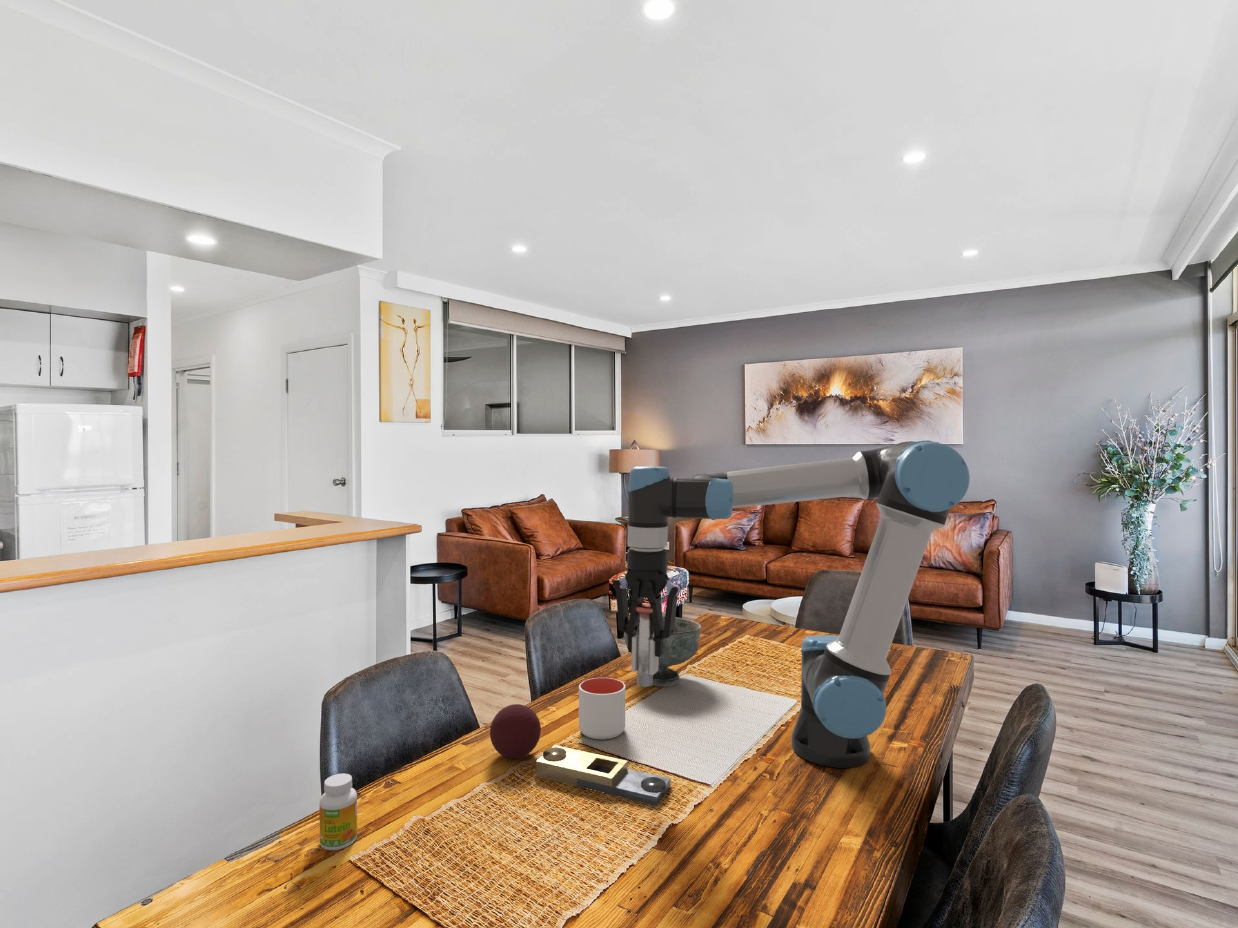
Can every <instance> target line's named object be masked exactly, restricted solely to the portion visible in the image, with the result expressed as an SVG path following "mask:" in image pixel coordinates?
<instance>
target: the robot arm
mask: <svg viewBox="0 0 1238 928" xmlns="http://www.w3.org/2000/svg"><path fill="white" fill-rule="evenodd" d="M670 475H671V474H670V470H669V468H668V467H666V466H654V465H653V466H652V465H644V466H643V465H642V466H641V465H639V466H638V465H637V466H634V467H632V468H631V469H630V471H629V481H628V489H627V493H628V495H627V496H628V498H627V499H628V501H627V502H628V503H627V506H628V507H627V508H628V509H627V513H628V517H627V519H628V520H627V521H628V522H627V524H628V525H627V546H628V547H629V548H628V549H627V554H626V555H627V556H626V557H627V559H626V560H627V565H626V566H627V570H626V573H625V575H624V577H619V578H616V579H614V580H613V581H612V586H613V588H614V591H615V593H616V594H615V595H616V597H615V598H616V610H617V611H616V612H617V613H616V614H617V626H618V628H617V629H618V631H619V632H623V633H626V634H627V635H628V648H627V651H628V653H630V652H632V654H631V672H633V673H634V672H635V673H636V672H637V657H638V634H637V632H638V613H637V612H635V606H639V605H641V604H642V603H643V600H644V599H645V598H646V599H648V603H649V604H650V608H653V614H651V616H652V624H653V633H654V638H653V639H651V640H650V669H649V674H650V675H654V674H655V673H656V672H657V671H658V664H659V657H660V656H661V655H662V654H663V642H664V638H669V637H670V636H671V635H672V634H673V633H674V624H675V617H676V615H677V614H676V613H677V607H678V605H677V604H678V597H679V595H680V593H681V591H682V586H681V584H675V583H673V582H672V581H670V578H669V576H668V573H667V572H668V551H667V549H666V548H667V546H668V536H669V535H668V532H669V531H668V529H669V526H668V525H669V518H673V519H675V518H683V519H687V518H688V519H700V520H701V519H702V520H704V519H705V520H712V521H715V520H729V519H730V518H731V517H732V516H733V509H737V508H747V507H756V506H767V505H776V504H786V503H795V502H804V501H805V502H807V501H814V500H815V501H816V500H824V499H835V498H844V497H854V496H858V497H859V498H860V499H862V500H865V501H866V500H871V499H873V500H874V499H876V500H877V501H876V504H875V506H876V507H877V509H878V511H879V513H880V518H879V519H880V520H879V522H878V524H877V527H876V530H875V534H874V537H873V540H872V542H871V545H870V548H869V550H868V554H867V556H866V559H865V562H864V565H863V568H862V570H861V573H860V576H859V579H858V581H857V584H856V587H855V589H854V590H855V591H854V593H853V595H852V598H851V602H850V604H849V607H848V610H847V611H846V612H847V613H846V616H845V618H844V622H843V624H842V627H841V629H840V632H839V635H826V634H825V635H824V634H821V635H820V634H818V635H817V634H816V635H809V636H806V637H805V638H803V640H802V644H801V650H800V653H801V679H800V681H801V686H800V688H801V689H800V692H801V693H800V695H801V696H800V704H801V705H800V710H799V713H798V716H797V720H796V721H795V724H794V726H793V730H792V732H791V748H792V750H793V751H794V753H795V754H796V755H798V756H799V757H800V758H802V759H804V760H806V761H808V762H810V763H813V764H816V765H819V766H823V767H828V768H840V769H845V768H846V769H847V768H854V767H855V768H856V767H860V766H862V765H864V764H866V763H867V762H868V761H869V760H870V758H871V744H870V741H869V737H868V736H870V735H872V734H873V733H875V732H876V731H877V730H878V729H880V727H881V726H882V724H883V723H884V720H885V718H886V714H887V705H886V704H887V702H886V699H885V696H884V693H885V690H886V688H887V685H888V683H889V680H890V677H891V674H892V669H891V667H890V665H889V663H888V661H887V657H888V654H889V652H890V649H891V647H892V644H893V640H894V638H895V635H896V632H897V629H898V628H899V627H898V626H899V624H900V621H901V618H902V617H903V616H902V615H903V612H904V610H905V607H906V604H907V601H908V599H909V596H910V593H911V590H912V588H913V585H914V582H915V579H916V577H917V574H918V571H919V569H920V566H921V563H922V560H923V557H924V555H925V551H926V549H927V546H928V543H929V540H930V538H931V535H932V533H933V532H935V531H938V530H939V529H942V528H944V527H945V525H946V521H947V519H948V518H949V517H948V516H949V514H950V512H951V509H952V508H954V507H955V506H956V505H958V504H959V503H960V502H961V501H962V500H963V499H964V497H965V496H966V494H967V492H968V490H969V485H970V478H971V477H970V471H969V466H968V465H967V463H966V461H965V459H964V458H963V457H962V455H961V453H959V452H958V451H957V450H955V449H954V448H952V447H951V446H950V445H947V444H945V443H942V442H940V441H939V442H938V441H932V440H919V441H903V442H899V443H894V444H891V445H888V446H887V445H886V446H884V447H879V448H875V449H874V448H873V449H869V450H862V451H857V452H856V453H855V454H854V456H853V457H846V458H836V459H827V460H819V461H811V462H802V463H794V464H785V465H777V466H768V467H759V468H751V469H750V468H749V469H742V470H741V469H740V470H735V471H734V470H733V471H727V472H715V473H699V474H698V473H697V474H695V475H693V476H692V477H688V478H687V477H673V476H670ZM628 586H629V588H630V590H631V591H632V593H631V606H630V611H629V602H628V601H629V600H628V599H629V598H628V590H627V588H628ZM665 588H666V594H667V597H666V604H665V613H664V616H665V622H664V625H663V617H662V616H663V610H662V592H663V591H664V589H665Z"/></svg>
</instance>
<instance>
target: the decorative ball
mask: <svg viewBox="0 0 1238 928" xmlns="http://www.w3.org/2000/svg"><path fill="white" fill-rule="evenodd" d="M541 726H542V725H541V722H540V719H539V716H538V714H537V713H535V711H534V710H533V709H531V708H530V707H529V706H527V705H523V704H518V703H513V704H509V705H507V706H505V707H503V708H501V709H500V710H499V711H498V712H497V713H496V715H495V716H494V718H493V719H492V721H491V724H490V727H489V728H490V729H489V736H490V742H491V744H492V747H493V748H494V749H495V751H496V752H497V753H498V754H500V755H501V756H502V757H504V758H507V759H520V758H523V757H525V756H528V755H529V754H530V753H531V752H532V751H533V750H534V749H535V748H536V746H537V745H538V743H539V741H540V738H541V733H542V732H541V731H542V729H541Z"/></svg>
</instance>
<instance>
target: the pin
mask: <svg viewBox="0 0 1238 928" xmlns="http://www.w3.org/2000/svg"><path fill="white" fill-rule="evenodd" d="M635 612H637V613H638V657H637V671H636V672H637V673H636V685H637V686H639V687H642V688H649V687H652V686H654V685H653V675H650V674H649V669H650V640H651V639H653V638H654V633H653V624H652V616H651V614H653V608H650V604H649V602H642V604H641V605H639V606H635Z"/></svg>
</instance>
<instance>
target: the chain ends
mask: <svg viewBox="0 0 1238 928" xmlns="http://www.w3.org/2000/svg"><path fill="white" fill-rule="evenodd" d="M535 764H536V765H535V777H536V778H540V779H544V780H547V779H548V781H553V782H556V783H560V784H564V783H565V785H569V786H572V785H573V787H577V788H581V787H582V788H581V789H585V788H588V789H587V790H589V789H592V790H591V791H593V790H596V791H595V792H597V791H599V792H598V793H601V792H604V793H603V794H606V795H610V794H611V795H610V796H615V797H618V798H622V799H623V798H624V799H627V800H631V801H635V802H640V803H644V804H647V805H651V806H656V807H658V805H659V803H661V801H662V799H664V798H665V797H666V795H667V792H668V791H669V789H670V788H671V778H670V777H666V776H662V775H658V774H653V773H648V772H643V771H639V770H635V769H630V768H628V760H625V759H621V758H617V757H616V758H615V757H611V756H606V755H602V754H598V753H594V752H587V751H584V750H580V749H574V748H570V747H564V746H560V745H556V744H554V745H553V746H552V747H549V748H546V749H545V750H544V751H543V752H542V756H540V757H539V758H538V759H537V760H536V761H535Z"/></svg>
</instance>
